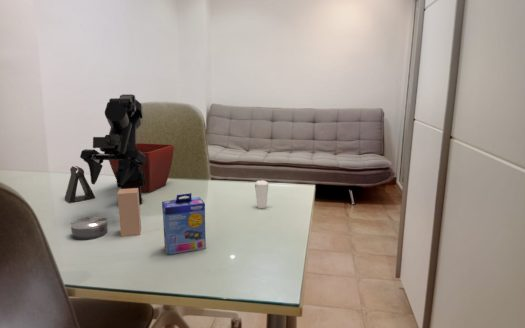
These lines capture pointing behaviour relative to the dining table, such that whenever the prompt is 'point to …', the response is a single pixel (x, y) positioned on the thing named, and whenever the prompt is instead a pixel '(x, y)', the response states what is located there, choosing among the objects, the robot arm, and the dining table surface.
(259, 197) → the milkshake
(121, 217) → the tan rectangular block
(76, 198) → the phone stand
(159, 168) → the plant pot
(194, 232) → the ink cartridge box
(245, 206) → the dining table surface
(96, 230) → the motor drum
